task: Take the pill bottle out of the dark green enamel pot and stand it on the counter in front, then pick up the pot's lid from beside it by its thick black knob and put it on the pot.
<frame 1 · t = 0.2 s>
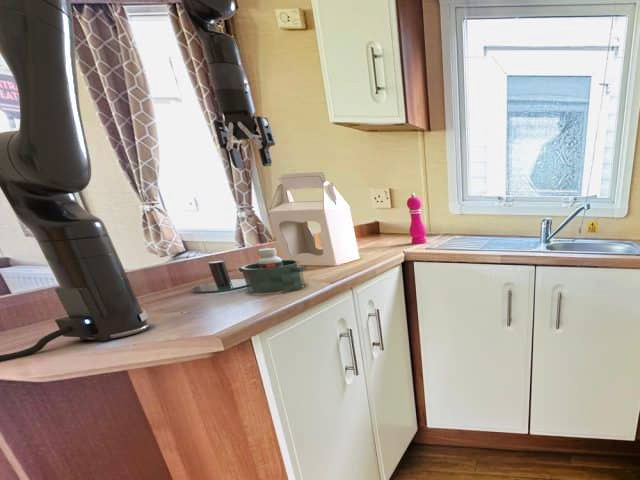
hand: (253, 167, 106), 29 cm above the countertop, tool pointing down, fingers open, 8 cm apart
pill bottle: (277, 288, 110), resting on pot
pepper mill: (419, 243, 185), on the countertop
pot: (277, 288, 110), on the countertop
gable box: (322, 262, 148), on the countertop
pot lid: (224, 286, 113), point 1 cm above the countertop
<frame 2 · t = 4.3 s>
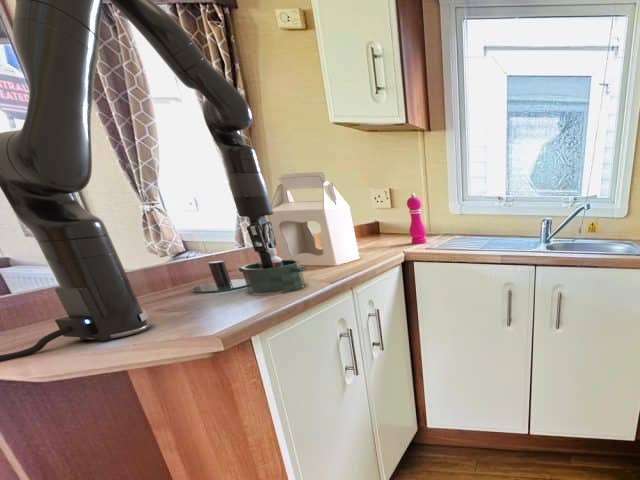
hand: (271, 266, 108), 6 cm above the countertop, tool pointing down, fingers closed on pill bottle, 5 cm apart
pill bottle: (277, 288, 110), resting on pot, touching gripper
everything else where it was.
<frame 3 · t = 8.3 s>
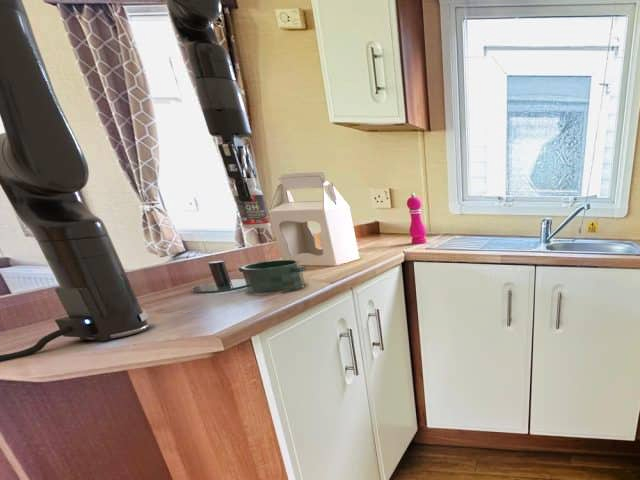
hand: (250, 200, 91), 21 cm above the countertop, tool pointing down, fingers closed on pill bottle, 5 cm apart
pill bottle: (258, 228, 93), point 16 cm above the countertop, touching gripper
everything else where it was.
when the fingers open (5 cm above the countertop, at t = 12.4 s): pill bottle stays where it is, on the countertop.
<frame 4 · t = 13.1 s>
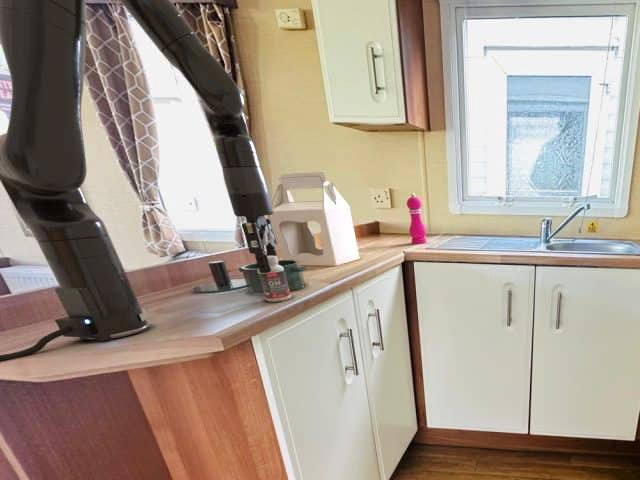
hand: (270, 269, 96), 7 cm above the countertop, tool pointing down, fingers open, 8 cm apart
pill bottle: (279, 300, 100), on the countertop
everything else where it was.
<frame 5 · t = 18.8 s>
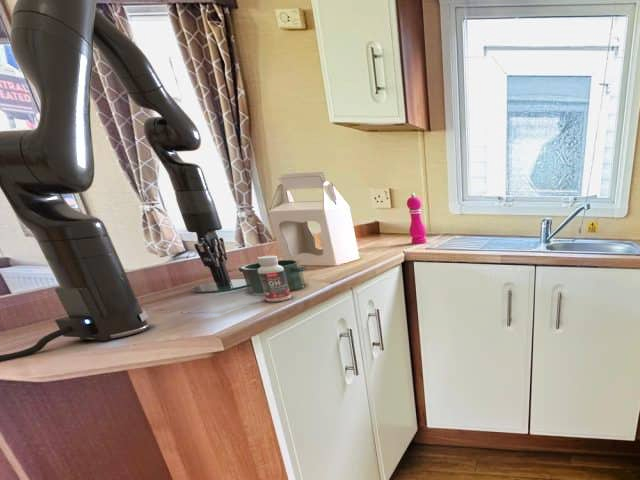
hand: (222, 279, 112), 2 cm above the countertop, tool pointing down, fingers closed on pot lid, 3 cm apart
pot lid: (224, 286, 113), point 1 cm above the countertop, touching gripper
everything else where it was.
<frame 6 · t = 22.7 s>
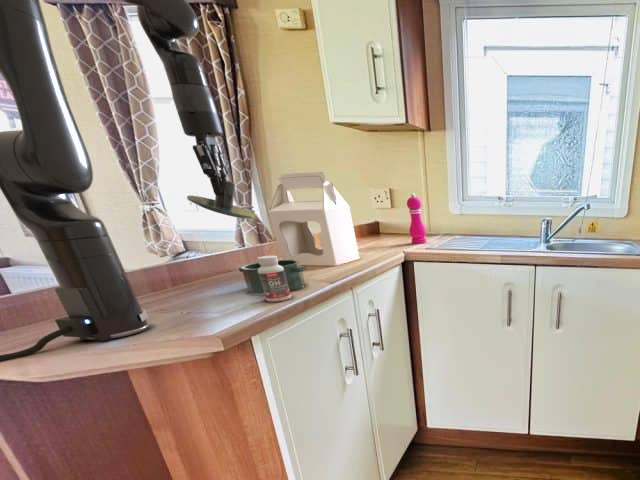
hand: (223, 194, 102), 23 cm above the countertop, tool pointing down, fingers closed on pot lid, 3 cm apart
pot lid: (223, 208, 103), point 20 cm above the countertop, tilted 23°, touching gripper
everything else where it was.
when the fingers open (10 cm above the countertop, at t = 26.5 s): pot lid moves 1 cm, resting on pot.
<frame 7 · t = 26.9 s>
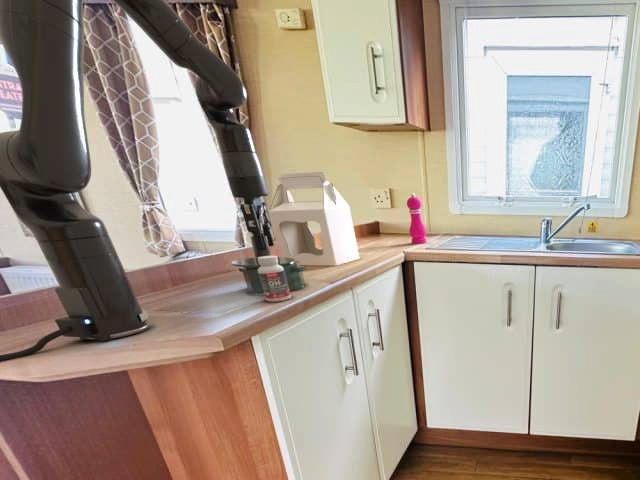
hand: (266, 248, 106), 10 cm above the countertop, tool pointing down, fingers open, 7 cm apart
pot lid: (264, 263, 107), point 7 cm above the countertop, touching pot
everything else where it was.
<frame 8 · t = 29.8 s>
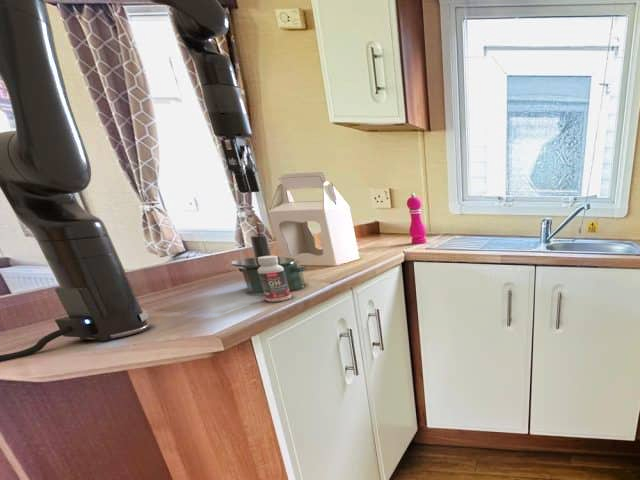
hand: (250, 192, 100), 23 cm above the countertop, tool pointing down, fingers open, 8 cm apart
nothing on the countertop moved.
at the end: pill bottle inside the target area (0.1 cm from its centre), on the countertop; pot lid 1.4 cm off-centre on the pot, point 6.8 cm above the pot's base; pot lid tilted 4° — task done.
